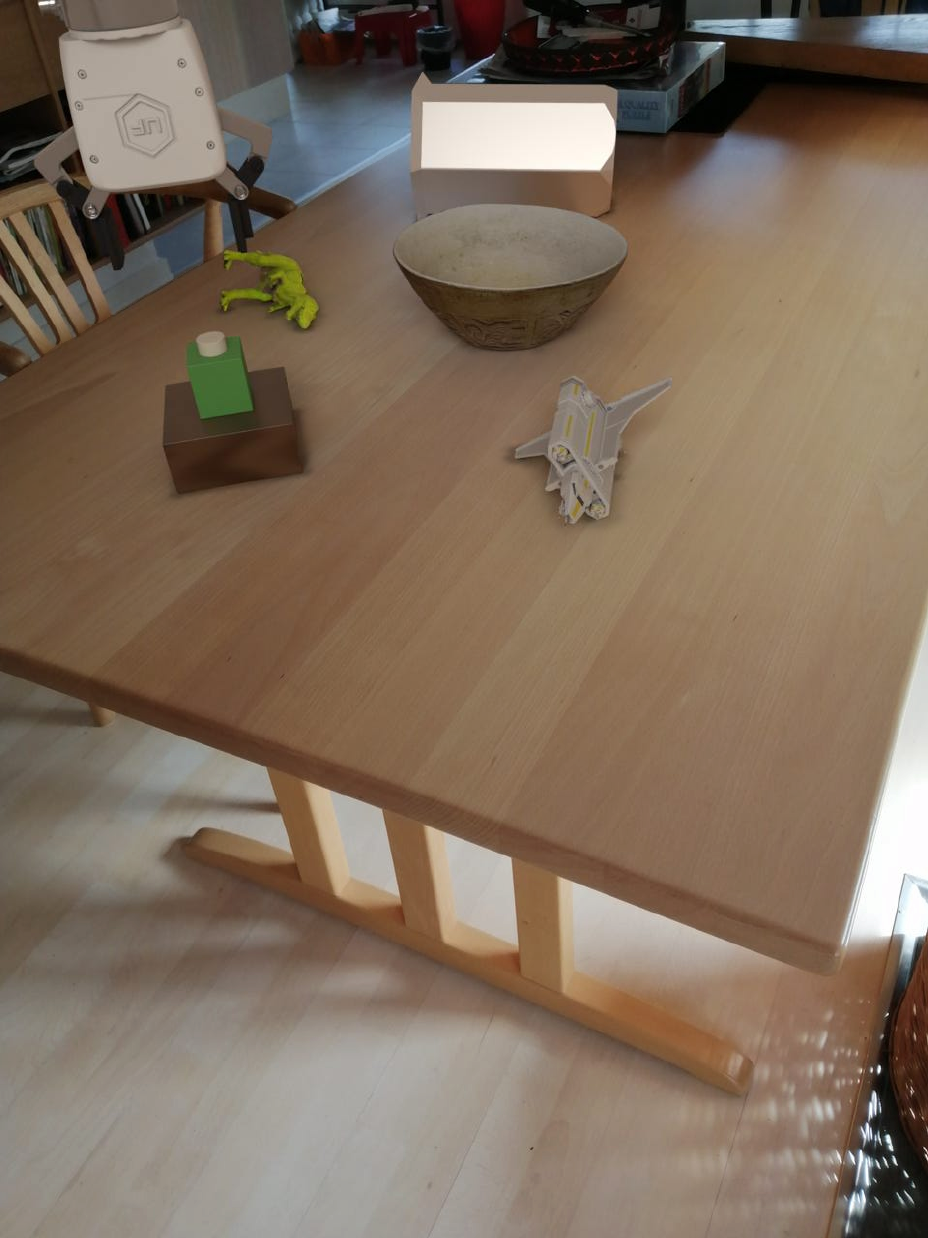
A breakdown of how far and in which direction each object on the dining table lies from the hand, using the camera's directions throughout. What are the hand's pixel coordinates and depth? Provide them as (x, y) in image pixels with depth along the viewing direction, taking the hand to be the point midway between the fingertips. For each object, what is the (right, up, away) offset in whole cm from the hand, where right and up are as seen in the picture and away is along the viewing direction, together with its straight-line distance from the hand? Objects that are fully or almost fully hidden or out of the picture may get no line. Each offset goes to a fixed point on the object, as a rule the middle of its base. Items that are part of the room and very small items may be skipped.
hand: (181, 255), depth 79 cm
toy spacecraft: (+32, -19, +3) cm, 37 cm away
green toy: (+1, -10, +10) cm, 14 cm away
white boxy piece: (+29, +26, +55) cm, 68 cm away
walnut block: (+2, -13, +13) cm, 19 cm away
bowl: (+28, +2, +28) cm, 40 cm away
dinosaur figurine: (+1, +9, +39) cm, 40 cm away
